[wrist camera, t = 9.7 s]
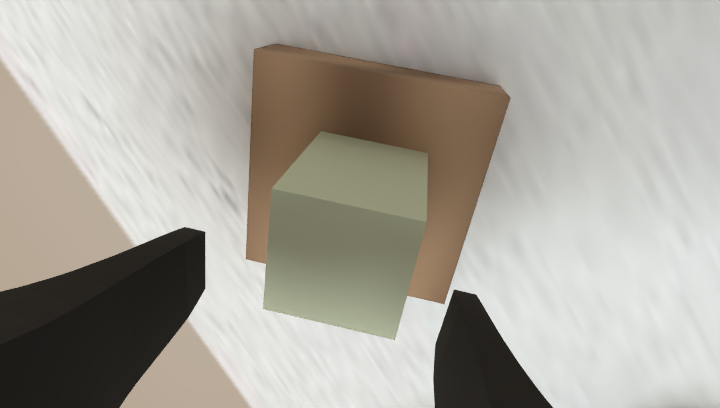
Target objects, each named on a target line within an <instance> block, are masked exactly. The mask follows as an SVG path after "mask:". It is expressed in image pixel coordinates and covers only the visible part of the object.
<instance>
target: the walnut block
mask: <svg viewBox="0 0 720 408" xmlns="http://www.w3.org/2000/svg"><path fill="white" fill-rule="evenodd" d="M509 101H510V97H509V96H508V95H507V93H506V92H505V91H504V90H503V89H502V87H501V86H497V85H492V84H487V83H481V82H476V81H471V80H465V79H460V78H455V77H449V76H444V75H439V74H433V73H428V72H423V71H418V70H412V69H407V68H402V67H396V66H391V65H386V64H380V63H375V62H370V61H364V60H359V59H354V58H349V57H343V56H338V55H333V54H327V53H322V52H317V51H311V50H306V49H301V48H295V47H290V46H285V45H280V44H272V45H269V46H265V47H261V48H257V49H254V63H253V89H252V115H251V141H250V166H249V192H248V218H247V244H246V259H248V260H252V261H256V262H261V263H265V264H266V260H267V245H268V231H269V217H270V203H271V188H272V187H273V186H274V185H275V184H276V183H277V181H278V180H279V179H280V178H281V177H282V176H283V175H284V173H285V172H286V171H287V170H288V169H289V168H290V166H291V165H292V164H293V163H294V162H295V161H296V160H297V158H298V157H299V156H300V155H301V154H302V153H303V151H304V150H305V149H306V148H307V147H308V146H309V145H310V143H311V142H312V141H313V140H314V139H315V138H316V136H317V135H318V134H319V133H320V132H321V131H323V132H328V133H332V134H337V135H342V136H347V137H352V138H357V139H362V140H367V141H371V142H376V143H381V144H386V145H391V146H396V147H401V148H406V149H410V150H415V151H420V152H425V153H428V181H427V223H426V227H425V230H424V234H423V238H422V241H421V245H420V249H419V252H418V256H417V260H416V264H415V267H414V271H413V275H412V278H411V282H410V286H409V289H408V293H407V296H411V297H416V298H420V299H425V300H429V301H434V302H438V303H442V304H444V303H445V300H446V297H447V294H448V291H449V288H450V284H451V281H452V278H453V275H454V272H455V269H456V266H457V263H458V260H459V256H460V253H461V250H462V247H463V244H464V241H465V238H466V235H467V232H468V228H469V225H470V222H471V219H472V216H473V213H474V210H475V207H476V203H477V200H478V197H479V194H480V191H481V188H482V185H483V182H484V179H485V175H486V172H487V169H488V166H489V163H490V160H491V157H492V154H493V151H494V147H495V144H496V141H497V138H498V135H499V132H500V129H501V126H502V123H503V119H504V116H505V113H506V110H507V107H508V104H509Z"/></svg>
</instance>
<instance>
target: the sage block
mask: <svg viewBox="0 0 720 408" xmlns="http://www.w3.org/2000/svg"><path fill="white" fill-rule="evenodd" d="M427 181H428V153H425V152H420V151H415V150H410V149H406V148H401V147H396V146H391V145H386V144H381V143H376V142H371V141H367V140H362V139H357V138H352V137H347V136H342V135H337V134H332V133H328V132H323V131H321V132H320V133H319V134H318V135H317V136H316V138H315V139H314V140H313V141H312V142H311V143H310V145H309V146H308V147H307V148H306V149H305V150H304V151H303V153H302V154H301V155H300V156H299V157H298V158H297V160H296V161H295V162H294V163H293V164H292V165H291V166H290V168H289V169H288V170H287V171H286V172H285V173H284V175H283V176H282V177H281V178H280V179H279V180H278V181H277V183H276V184H275V185H274V186H273V187H272V188H271V203H270V217H269V231H268V245H267V260H266V274H265V288H264V302H263V309H266V310H271V311H275V312H279V313H283V314H287V315H292V316H296V317H300V318H304V319H309V320H313V321H317V322H321V323H326V324H330V325H334V326H338V327H342V328H347V329H351V330H355V331H359V332H364V333H368V334H372V335H376V336H380V337H385V338H389V339H393V340H395V338H396V334H397V330H398V326H399V323H400V319H401V315H402V312H403V308H404V304H405V301H406V297H407V293H408V289H409V286H410V282H411V278H412V275H413V271H414V267H415V264H416V260H417V256H418V252H419V249H420V245H421V241H422V238H423V234H424V230H425V227H426V223H427Z"/></svg>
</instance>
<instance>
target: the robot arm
mask: <svg viewBox="0 0 720 408" xmlns="http://www.w3.org/2000/svg"><path fill="white" fill-rule="evenodd" d="M204 290H205V232H204V231H199V230H195V229H191V228H186V227H184V228H181V229H178V230H175V231H173V232H170V233H168V234H165V235H163V236H160V237H158V238H156V239H153V240H151V241H149V242H146V243H144V244H141V245H139V246H136V247H134V248H132V249H129V250H127V251H124V252H122V253H119V254H117V255H115V256H112V257H109V258H107V259H104V260H101V261H98V262H96V263H93V264H90V265H88V266H85V267H83V268H80V269H77V270H74V271H71V272H68V273H65V274H63V275H59V276H56V277H53V278H49V279H46V280H43V281H39V282H36V283H32V284H30V285H26V286H22V287H18V288H14V289H10V290H6V291H2V292H0V408H119V407H120V406H121V404H122V403H123V401H124V400H125V398H126V397H127V395H128V394H129V392H130V391H131V390H132V389H133V387H134V386H135V384H136V383H137V382H138V381H139V379H140V378H141V377H142V375H143V374H144V373H145V372H146V370H147V369H148V368H149V367H150V365H151V364H152V363H153V362H154V360H155V359H156V358H157V357H158V355H159V354H160V353H161V351H162V350H163V349H164V348H165V347H166V345H167V344H168V343H169V342H170V340H171V339H172V338H173V336H174V335H175V334H176V332H177V331H178V330H179V329H180V327H181V326H182V325H183V323H184V322H185V321H186V320H187V318H188V317H189V315H190V314H191V312H192V310H193V309H194V307H195V305H196V304H197V302H198V300H199V298H200V297H201V295H202V293H203V291H204ZM433 379H434V397H435V408H553V407H552V406H551V405H550V404H549V402H548V401H547V400H546V399H545V398H544V396H543V395H542V394H541V393H540V391H539V390H538V389H537V387H536V386H535V385H534V383H533V382H532V381H531V379H530V378H529V377H528V375H527V374H526V372H525V371H524V370H523V368H522V367H521V366H520V364H519V363H518V361H517V360H516V358H515V357H514V355H513V354H512V352H511V351H510V349H509V348H508V346H507V345H506V343H505V342H504V340H503V338H502V337H501V335H500V334H499V332H498V330H497V329H496V327H495V325H494V324H493V322H492V320H491V319H490V317H489V315H488V314H487V312H486V310H485V309H484V307H483V305H482V303H481V302H480V300H479V299H478V297H477V295H475V294H471V293H466V292H462V291H458V290H454V292H453V295H452V297H451V300H450V303H449V306H448V309H447V312H446V315H445V318H444V321H443V324H442V327H441V330H440V333H439V335H438V338H437V341H436V345H435V360H434V378H433Z"/></svg>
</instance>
